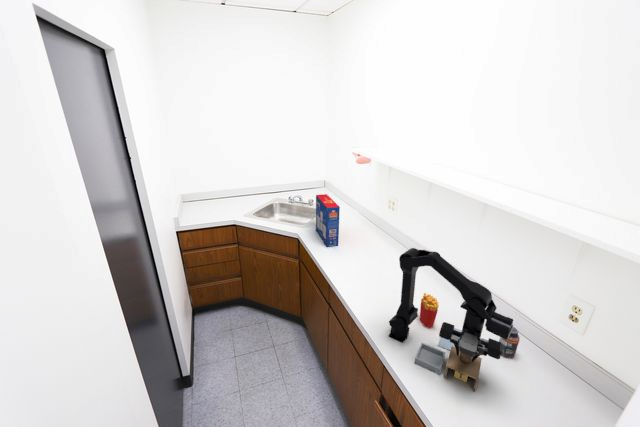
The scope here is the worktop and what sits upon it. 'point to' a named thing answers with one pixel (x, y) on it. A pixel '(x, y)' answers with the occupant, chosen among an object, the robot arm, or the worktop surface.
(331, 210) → the pasta box
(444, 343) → the mat
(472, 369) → the brown knobbed box
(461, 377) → the letter cube
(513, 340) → the supplement bottle
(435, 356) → the tray
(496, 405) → the worktop surface
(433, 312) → the french fries
